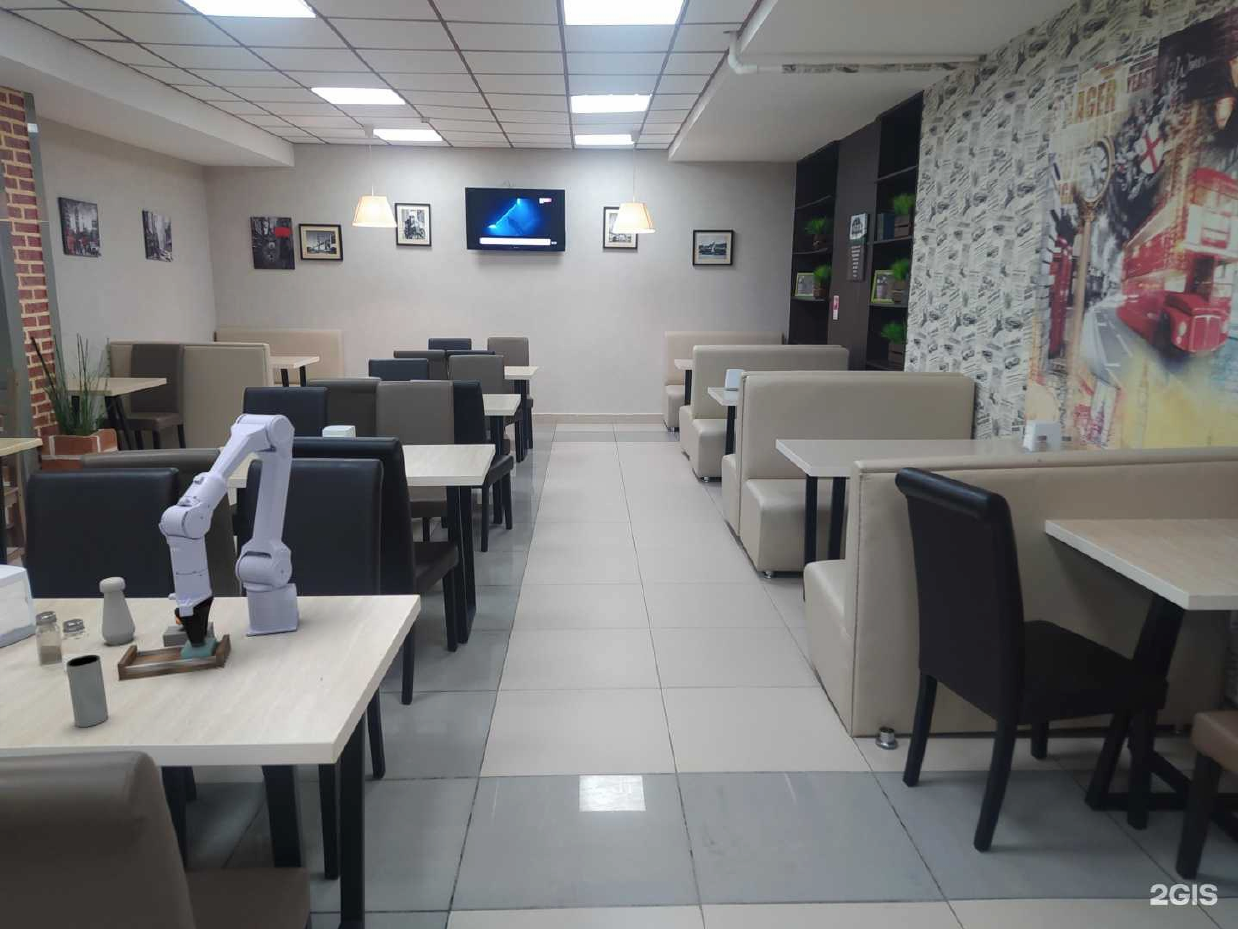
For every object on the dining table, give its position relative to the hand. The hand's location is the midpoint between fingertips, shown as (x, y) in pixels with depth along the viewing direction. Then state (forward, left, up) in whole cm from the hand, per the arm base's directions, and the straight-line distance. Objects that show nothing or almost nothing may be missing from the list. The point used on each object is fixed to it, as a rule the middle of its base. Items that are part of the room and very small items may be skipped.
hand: (198, 639), depth 155 cm
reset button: (+4, -9, -2) cm, 10 cm away
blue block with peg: (0, 0, -3) cm, 3 cm away
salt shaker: (+18, -16, -4) cm, 24 cm away
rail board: (+4, 0, -4) cm, 6 cm away
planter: (+13, +20, -4) cm, 24 cm away
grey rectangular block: (+4, -9, -4) cm, 11 cm away
